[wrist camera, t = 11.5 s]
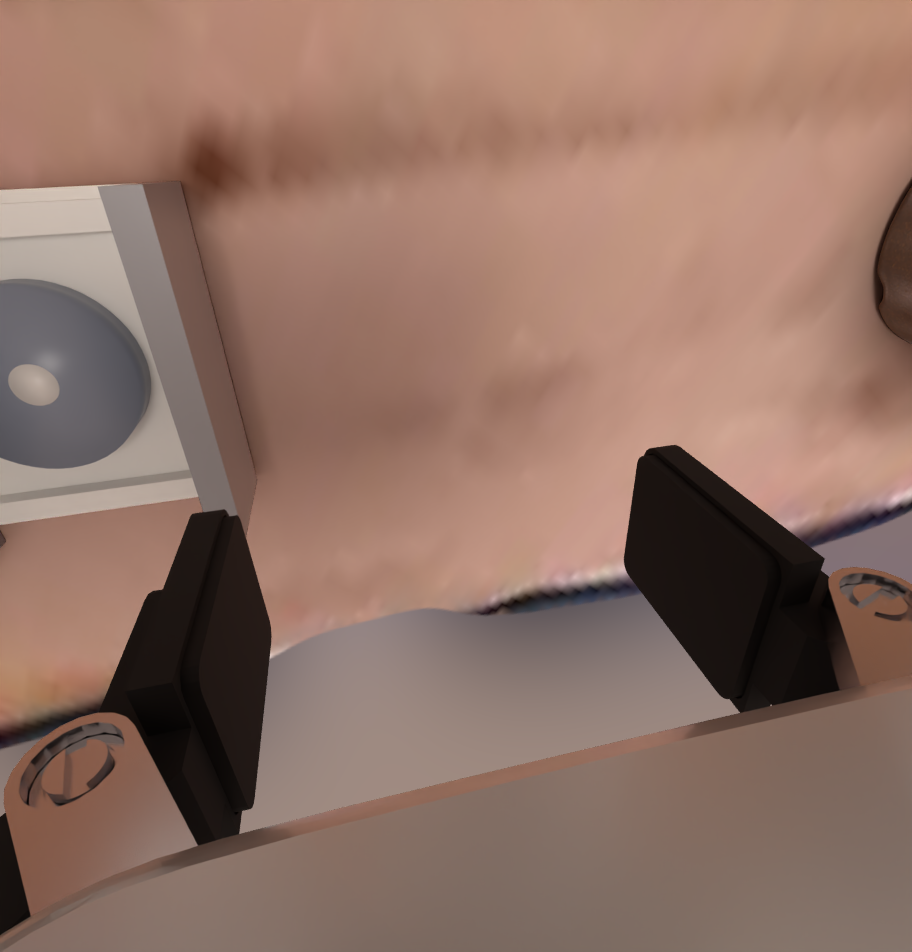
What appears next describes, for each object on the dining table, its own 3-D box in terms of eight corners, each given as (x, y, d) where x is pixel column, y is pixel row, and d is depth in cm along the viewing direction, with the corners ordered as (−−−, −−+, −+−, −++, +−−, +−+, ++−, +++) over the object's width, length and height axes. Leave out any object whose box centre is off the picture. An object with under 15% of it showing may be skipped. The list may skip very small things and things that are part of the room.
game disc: (-4, 462, 23) (-25, 481, 21) (-98, 288, 19) (-131, 297, 18) (173, 438, 24) (164, 455, 22) (115, 270, 20) (100, 277, 19)
